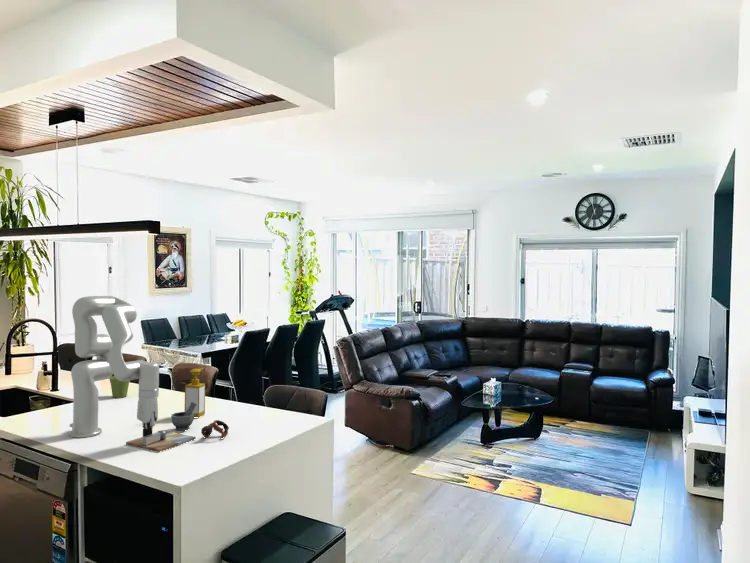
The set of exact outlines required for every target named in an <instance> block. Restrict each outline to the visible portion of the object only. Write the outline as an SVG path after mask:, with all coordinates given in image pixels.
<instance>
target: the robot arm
mask: <svg viewBox="0 0 750 563" xmlns="http://www.w3.org/2000/svg"><path fill="white" fill-rule="evenodd" d="M71 310H72V311H71V313H72V319H73V323H74V352H75V355H76V356H78V357H79V358H82V359H83V358H84V359H85V358H93V357H96V359H90V360H89V359H88V360H87V359H86V360H83V361H79V362H77V363H75V364H74V365H73V366H72V368H71V373H70V374H71V375H70V376H71V380H72V388H73V390H72V391H73V404H72V406H73V409H72V411H73V412H72V413H73V414H72V418H73V419H72V423H70V424H69V427H70V428H72V429H71V430H69V432H68V436H69V437H70V438H77V439H79V438H88V437H94V436H97V435H100V434H101V433H102V432H103V431H102V430H103V428H100V427H99V389H98V387H97V386H96V385H95V382H101V381H104V380H107V379H108V380H109V378H110V377H113V376H115V377H116V379H118V380H119V381H129V380H130V381H133V380H138V399H137V400H138V401H137V409H136V410H137V411H136V419H137V420H138V421H140V422H141V423H142V437H144V436H147V435H150V434H153V428H154V426H156V425H155V423H157V421H158V416H159V406H158V405H159V404H158V397H159V394H160V393H159V388H160V387H159V386H160V365H159V364H158V362H151V361H146V360H144V359H138V360H132V361H125V360H124V357H123V348H124V346H125V345H126V344H127V343H129V342H130V341H132V340H133V338H134V334H133V331H132V329H131V326H130V324H132V323H133V322H135V321H136V319H137V317H138V313H137V310H136V308H135V307H134V306H133V305H132V304H130V303H129V302H127V301H124V300H122V299H120V298H119V297H116V296H112V295H91V296H84V297H80V298H78V299H77V300H76V301H75V302H74V304H73V306H72V309H71ZM94 316H96V317H97V316H101V318H102V321H103V324H104V326H105V328H106V330H107V334H105V333H101V334H98V324H97V323H96V321H95V319H94V318H93V317H94Z"/></svg>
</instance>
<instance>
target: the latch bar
mask: <svg viewBox="0 0 750 563" xmlns="http://www.w3.org/2000/svg"><path fill="white" fill-rule="evenodd" d="M166 431H167V430H164V429H163V430H162V429H161V430H157V431H156V432H152V434H150V435H147V436H144V437H143V436H142V437H143V445H148V444H150V443H153V442H156V441H159V440H163V439H166Z"/></svg>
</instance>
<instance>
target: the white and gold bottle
mask: <svg viewBox="0 0 750 563" xmlns="http://www.w3.org/2000/svg"><path fill="white" fill-rule="evenodd" d="M202 370H203V368H193V369H191V370H189V373H191V375H192V376H193V379H191V382H190V383H188V384H186V385H185V386H184V412H186V411H187V410H188V408H189V406H190V405H191V402H195V403H196V404H197V405H196V406H195V408H194V410H193V412H192V413H194V417H198V418H197V419H200V418H201V417H200V416H202V415H203V416H205V415H204V414H206V383H201V382H200V378H198V376H199V375H200V372H202ZM203 416H202V417H203ZM199 417H200V418H199Z"/></svg>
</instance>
